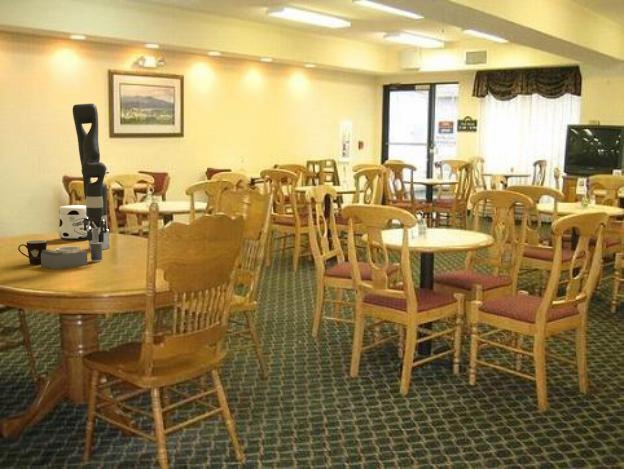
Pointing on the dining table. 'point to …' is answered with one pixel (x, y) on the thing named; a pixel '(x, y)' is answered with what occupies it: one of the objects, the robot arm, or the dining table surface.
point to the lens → (96, 251)
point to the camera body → (63, 258)
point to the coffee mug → (34, 250)
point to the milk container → (72, 222)
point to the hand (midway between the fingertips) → (95, 241)
